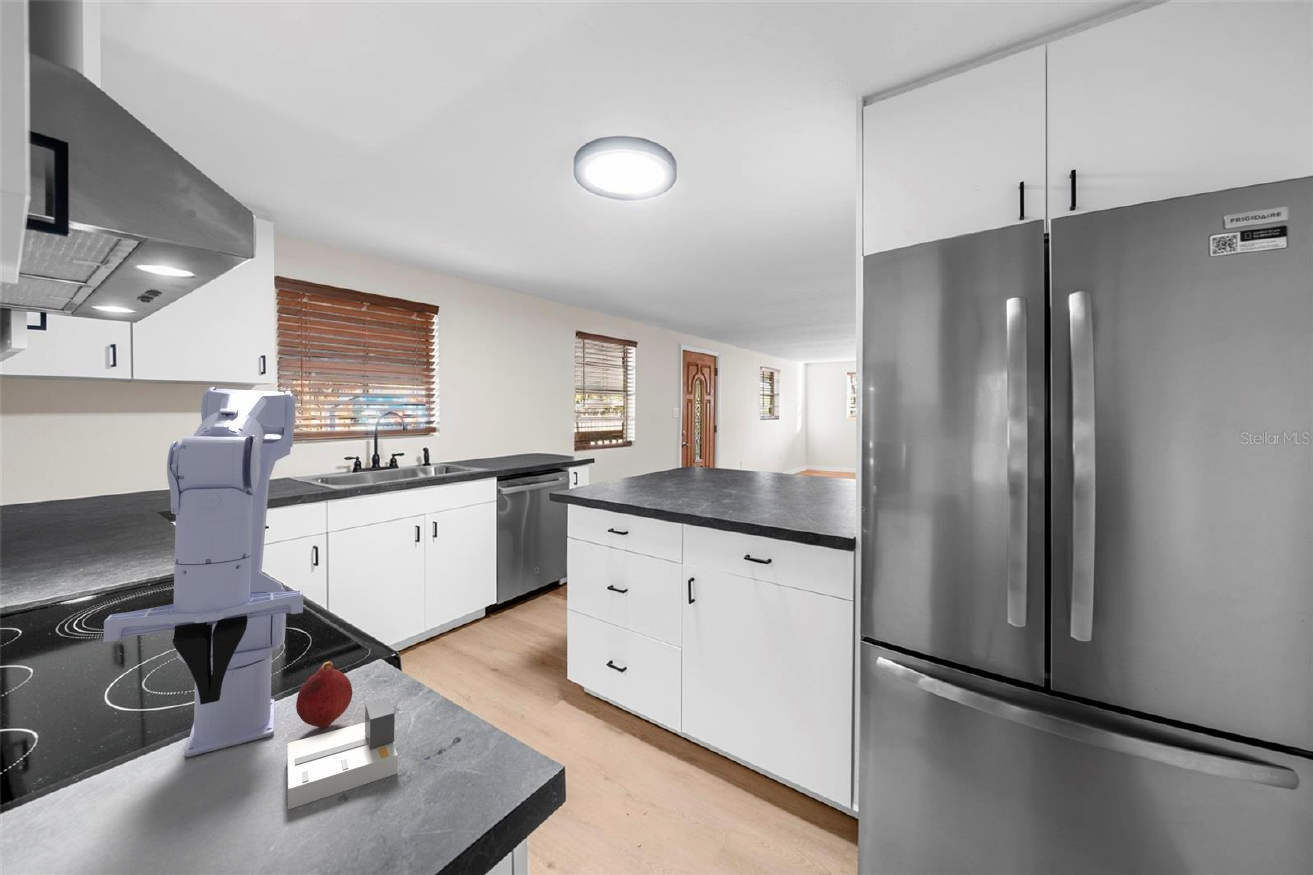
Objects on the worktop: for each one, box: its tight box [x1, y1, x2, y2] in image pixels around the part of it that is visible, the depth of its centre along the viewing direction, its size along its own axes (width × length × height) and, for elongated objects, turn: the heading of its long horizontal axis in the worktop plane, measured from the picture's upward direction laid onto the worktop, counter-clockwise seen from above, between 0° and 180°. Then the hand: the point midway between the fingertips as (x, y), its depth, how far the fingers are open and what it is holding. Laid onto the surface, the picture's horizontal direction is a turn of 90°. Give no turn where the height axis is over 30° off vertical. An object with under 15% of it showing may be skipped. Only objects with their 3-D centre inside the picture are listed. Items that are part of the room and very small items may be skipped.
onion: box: [295, 661, 353, 729], centre depth 64 cm, size 6×6×8 cm
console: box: [286, 722, 399, 810], centre depth 57 cm, size 9×10×2 cm
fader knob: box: [364, 697, 396, 749], centre depth 59 cm, size 4×2×3 cm, turn 36°
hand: (210, 698), depth 50 cm, fingers closed
